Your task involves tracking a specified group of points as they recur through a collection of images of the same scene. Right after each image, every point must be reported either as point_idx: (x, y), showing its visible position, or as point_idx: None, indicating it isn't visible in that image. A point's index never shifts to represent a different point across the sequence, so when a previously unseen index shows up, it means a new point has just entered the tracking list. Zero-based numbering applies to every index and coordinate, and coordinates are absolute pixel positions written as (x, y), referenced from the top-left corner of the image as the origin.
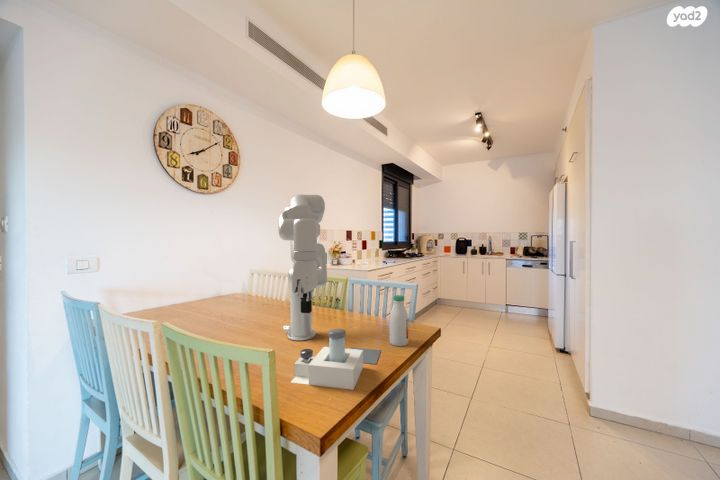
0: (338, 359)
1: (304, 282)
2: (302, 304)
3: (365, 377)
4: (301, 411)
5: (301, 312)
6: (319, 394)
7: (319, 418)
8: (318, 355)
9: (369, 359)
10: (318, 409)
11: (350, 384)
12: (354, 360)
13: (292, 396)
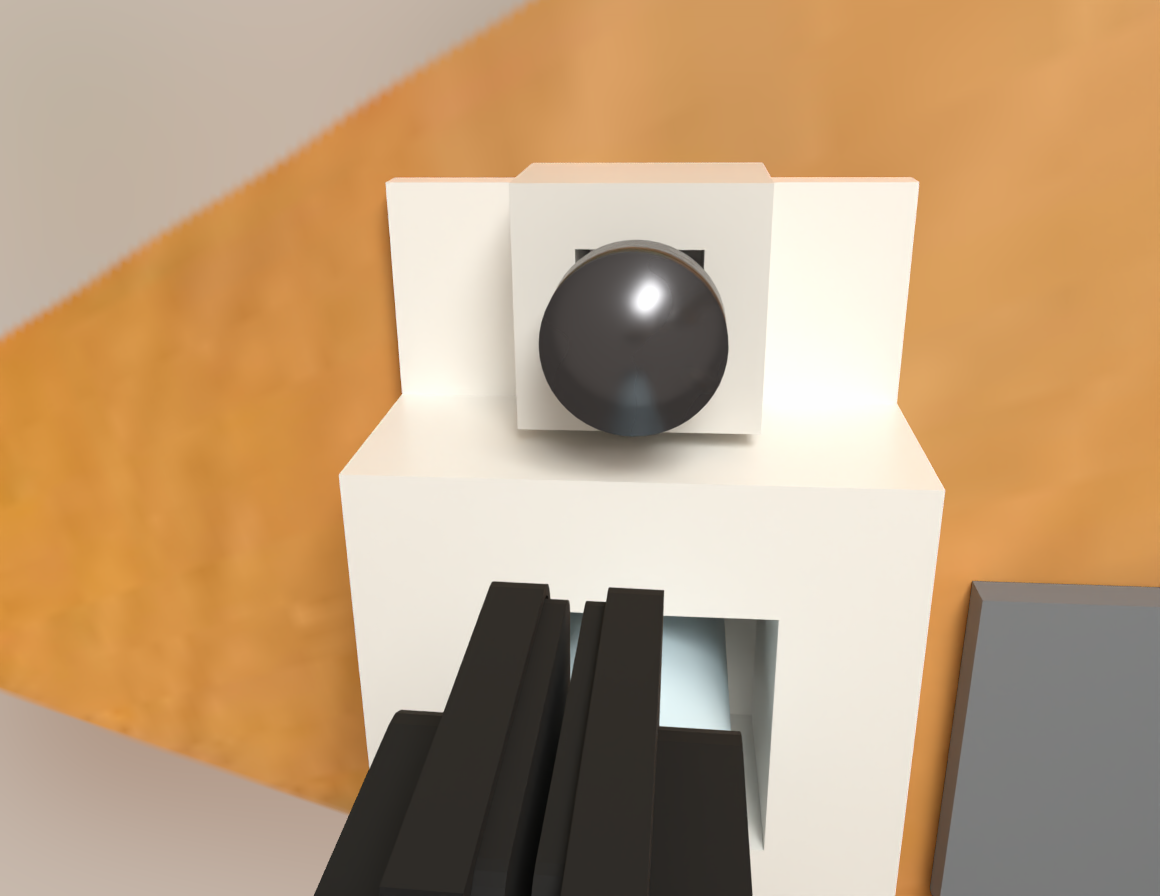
0: None
1: None
2: (327, 880)
3: None
4: (73, 455)
5: (497, 596)
6: (337, 516)
7: (56, 609)
8: (626, 509)
9: (1041, 851)
10: (146, 571)
11: None
12: None
13: (229, 290)
